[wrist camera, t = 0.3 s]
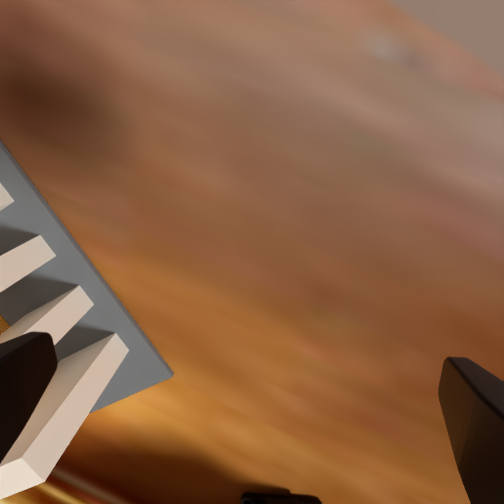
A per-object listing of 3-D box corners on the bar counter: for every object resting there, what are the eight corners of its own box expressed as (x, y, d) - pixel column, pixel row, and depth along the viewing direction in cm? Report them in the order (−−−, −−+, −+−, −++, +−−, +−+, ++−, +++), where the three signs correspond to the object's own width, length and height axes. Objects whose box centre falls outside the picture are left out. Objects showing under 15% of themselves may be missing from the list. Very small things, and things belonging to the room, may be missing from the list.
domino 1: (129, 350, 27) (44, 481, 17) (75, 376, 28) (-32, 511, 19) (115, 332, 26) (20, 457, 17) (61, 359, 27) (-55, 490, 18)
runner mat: (173, 373, 28) (172, 376, 27) (89, 410, 30) (86, 414, 29) (-68, 49, 21) (-74, 48, 21) (-156, 125, 23) (-163, 125, 23)
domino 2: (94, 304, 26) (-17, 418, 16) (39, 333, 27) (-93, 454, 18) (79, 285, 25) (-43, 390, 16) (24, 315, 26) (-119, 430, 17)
